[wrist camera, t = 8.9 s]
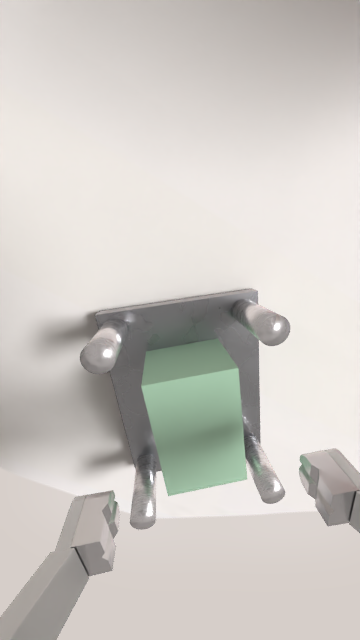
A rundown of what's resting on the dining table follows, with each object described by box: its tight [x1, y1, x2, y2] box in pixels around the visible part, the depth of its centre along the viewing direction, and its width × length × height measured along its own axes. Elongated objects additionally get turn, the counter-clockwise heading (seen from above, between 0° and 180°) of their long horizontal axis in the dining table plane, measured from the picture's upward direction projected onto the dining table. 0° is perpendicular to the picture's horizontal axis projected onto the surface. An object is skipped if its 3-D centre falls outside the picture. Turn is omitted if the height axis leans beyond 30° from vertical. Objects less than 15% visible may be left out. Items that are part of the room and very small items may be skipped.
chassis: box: [80, 289, 290, 529], centre depth 14 cm, size 14×11×5 cm
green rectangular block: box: [141, 338, 247, 496], centre depth 14 cm, size 8×5×4 cm, turn 9°
